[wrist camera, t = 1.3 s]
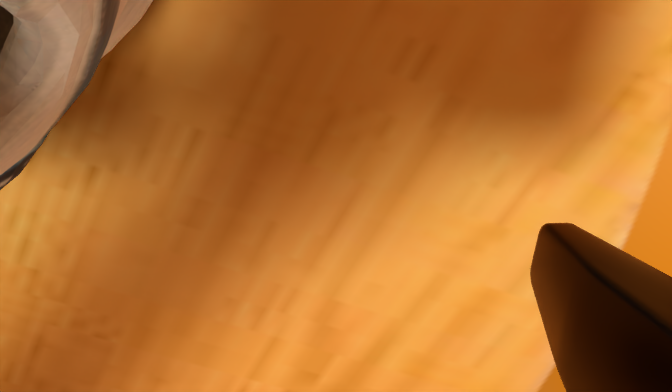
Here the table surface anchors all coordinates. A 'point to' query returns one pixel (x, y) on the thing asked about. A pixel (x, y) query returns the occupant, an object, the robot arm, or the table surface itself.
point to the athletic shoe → (50, 65)
